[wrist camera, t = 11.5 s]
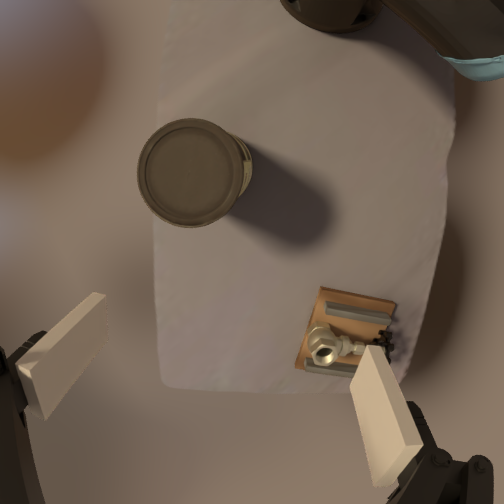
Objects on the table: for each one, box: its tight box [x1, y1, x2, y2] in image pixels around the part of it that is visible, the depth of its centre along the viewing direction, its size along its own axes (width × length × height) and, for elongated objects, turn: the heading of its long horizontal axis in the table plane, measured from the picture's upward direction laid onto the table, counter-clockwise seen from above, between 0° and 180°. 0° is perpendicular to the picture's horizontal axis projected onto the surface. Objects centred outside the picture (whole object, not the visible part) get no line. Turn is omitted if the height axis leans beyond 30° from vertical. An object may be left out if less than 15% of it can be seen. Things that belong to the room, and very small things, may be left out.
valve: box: [307, 321, 394, 366], centre depth 44 cm, size 7×7×12 cm
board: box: [295, 286, 396, 378], centre depth 46 cm, size 14×12×4 cm
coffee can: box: [137, 118, 252, 228], centre depth 36 cm, size 10×10×14 cm
